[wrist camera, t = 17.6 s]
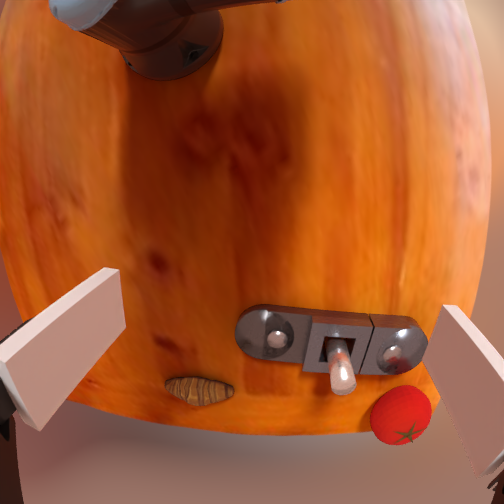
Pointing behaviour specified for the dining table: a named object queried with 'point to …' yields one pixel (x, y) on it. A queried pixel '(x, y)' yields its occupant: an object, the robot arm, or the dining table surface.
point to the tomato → (401, 415)
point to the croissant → (199, 390)
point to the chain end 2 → (368, 343)
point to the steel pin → (339, 365)
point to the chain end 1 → (281, 331)
